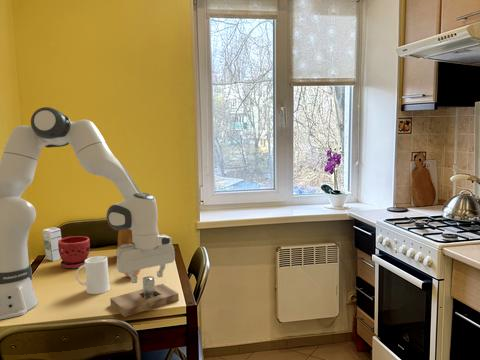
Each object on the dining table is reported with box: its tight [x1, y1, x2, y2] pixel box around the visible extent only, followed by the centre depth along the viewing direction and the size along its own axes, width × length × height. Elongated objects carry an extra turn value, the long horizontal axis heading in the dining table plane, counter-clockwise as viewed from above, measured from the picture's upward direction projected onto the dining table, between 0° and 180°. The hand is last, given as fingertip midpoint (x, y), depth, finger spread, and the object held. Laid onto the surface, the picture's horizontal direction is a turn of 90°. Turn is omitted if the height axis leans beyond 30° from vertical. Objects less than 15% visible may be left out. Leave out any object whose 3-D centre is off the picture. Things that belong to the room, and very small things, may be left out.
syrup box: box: [42, 226, 62, 262], centre depth 202 cm, size 6×6×14 cm
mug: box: [75, 255, 111, 295], centre depth 162 cm, size 12×8×12 cm
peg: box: [142, 275, 156, 299], centre depth 152 cm, size 4×4×8 cm
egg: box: [123, 269, 142, 278], centre depth 176 cm, size 7×7×8 cm
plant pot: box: [58, 235, 91, 269], centre depth 192 cm, size 13×13×12 cm
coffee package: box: [117, 229, 133, 249], centre depth 202 cm, size 10×12×22 cm
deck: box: [109, 283, 180, 318], centre depth 151 cm, size 20×12×2 cm, turn 127°
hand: (147, 279), depth 150 cm, fingers open, 8 cm apart
